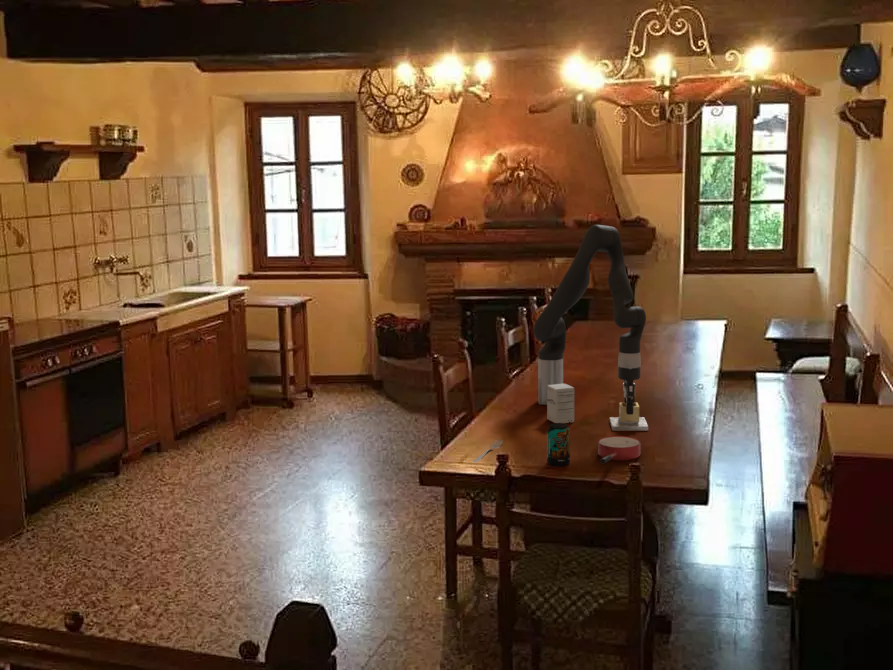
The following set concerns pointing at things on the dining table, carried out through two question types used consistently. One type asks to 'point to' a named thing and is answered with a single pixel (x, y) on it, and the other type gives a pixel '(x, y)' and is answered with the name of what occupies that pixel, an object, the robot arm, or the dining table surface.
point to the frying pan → (618, 448)
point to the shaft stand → (628, 424)
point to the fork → (488, 450)
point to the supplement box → (560, 403)
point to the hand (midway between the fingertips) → (628, 411)
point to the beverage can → (558, 444)
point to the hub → (625, 416)
